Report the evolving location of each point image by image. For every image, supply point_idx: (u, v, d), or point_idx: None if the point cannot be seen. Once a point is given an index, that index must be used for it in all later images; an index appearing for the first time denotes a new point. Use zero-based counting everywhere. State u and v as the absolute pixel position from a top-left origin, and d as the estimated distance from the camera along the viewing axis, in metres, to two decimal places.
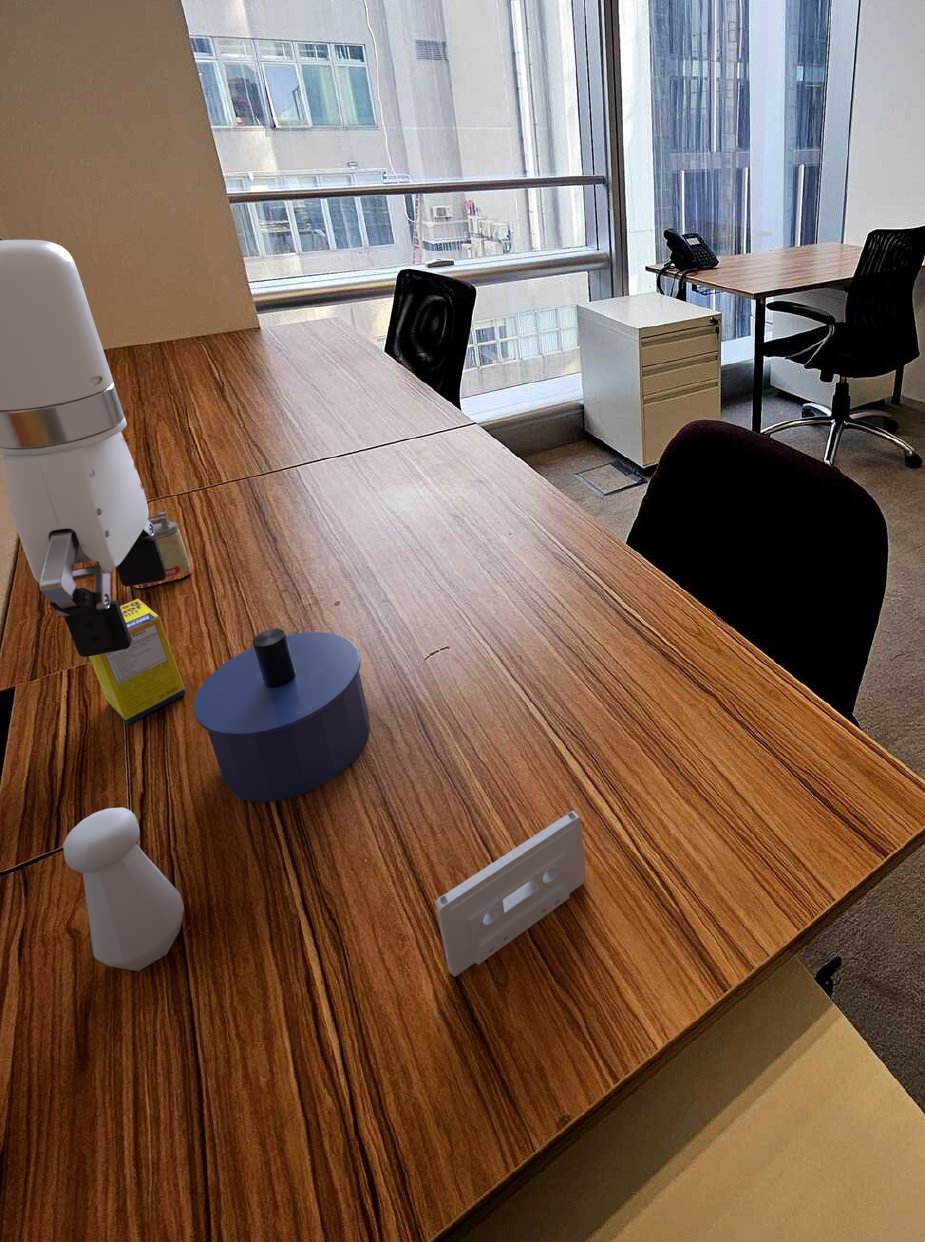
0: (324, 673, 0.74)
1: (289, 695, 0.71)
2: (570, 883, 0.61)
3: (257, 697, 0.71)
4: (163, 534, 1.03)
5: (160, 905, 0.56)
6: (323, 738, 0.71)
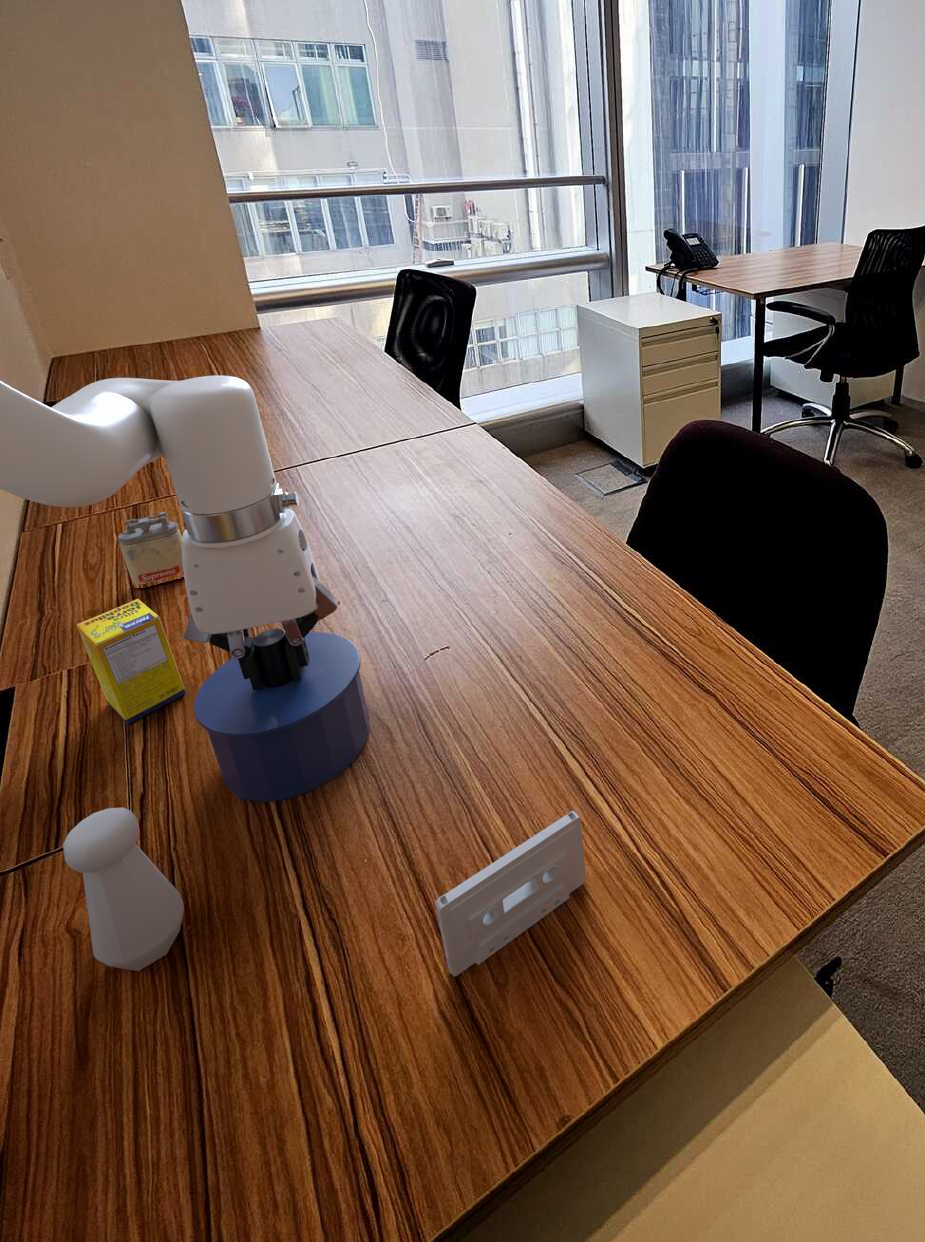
0: (324, 673, 0.74)
1: (289, 695, 0.71)
2: (570, 883, 0.61)
3: (257, 697, 0.71)
4: (163, 534, 1.03)
5: (160, 905, 0.56)
6: (323, 738, 0.71)
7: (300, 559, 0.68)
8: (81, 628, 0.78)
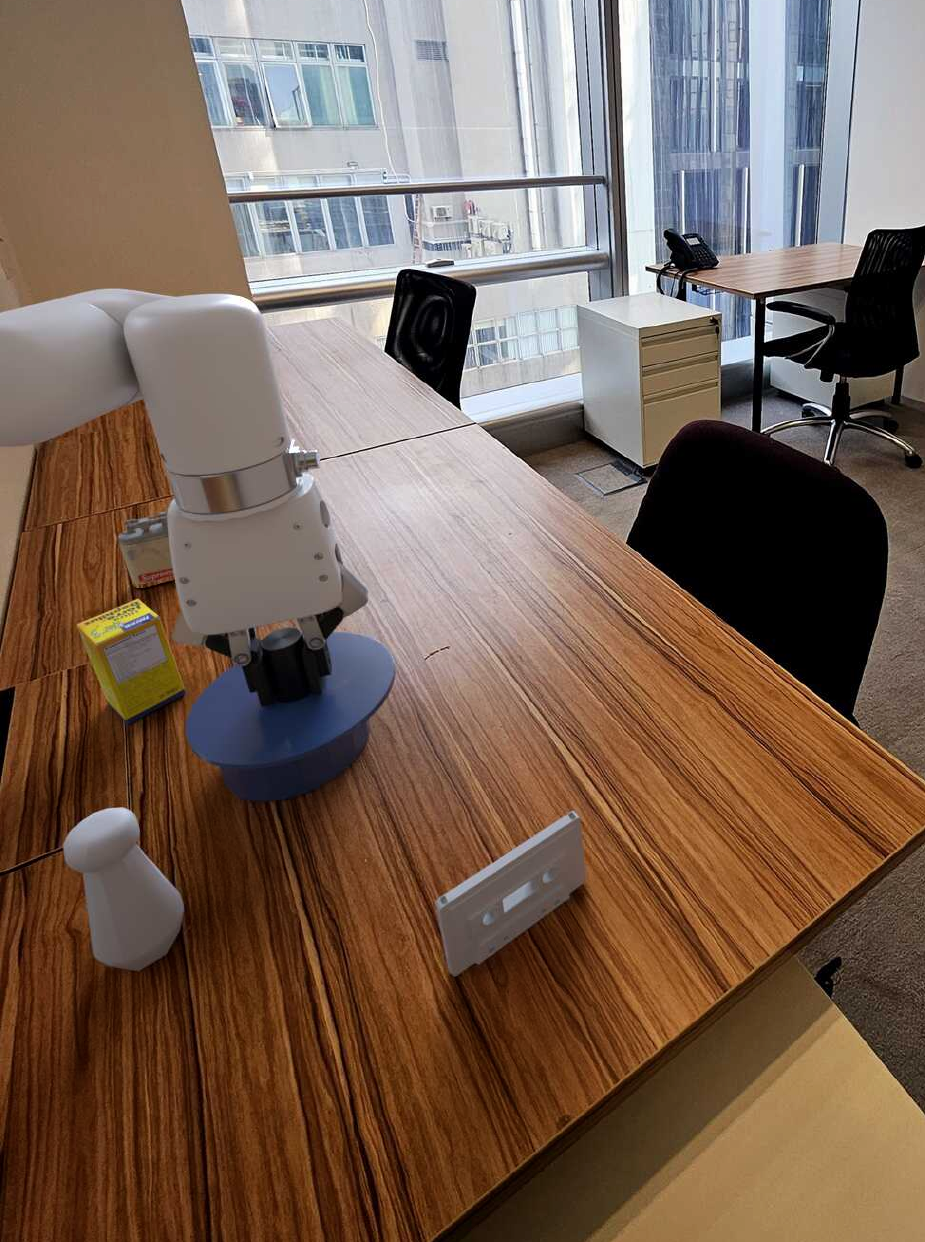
0: (351, 684, 0.58)
1: (307, 713, 0.56)
2: (570, 883, 0.61)
3: (266, 715, 0.55)
4: (163, 534, 1.03)
5: (160, 905, 0.56)
6: None
7: (322, 538, 0.53)
8: (81, 628, 0.78)
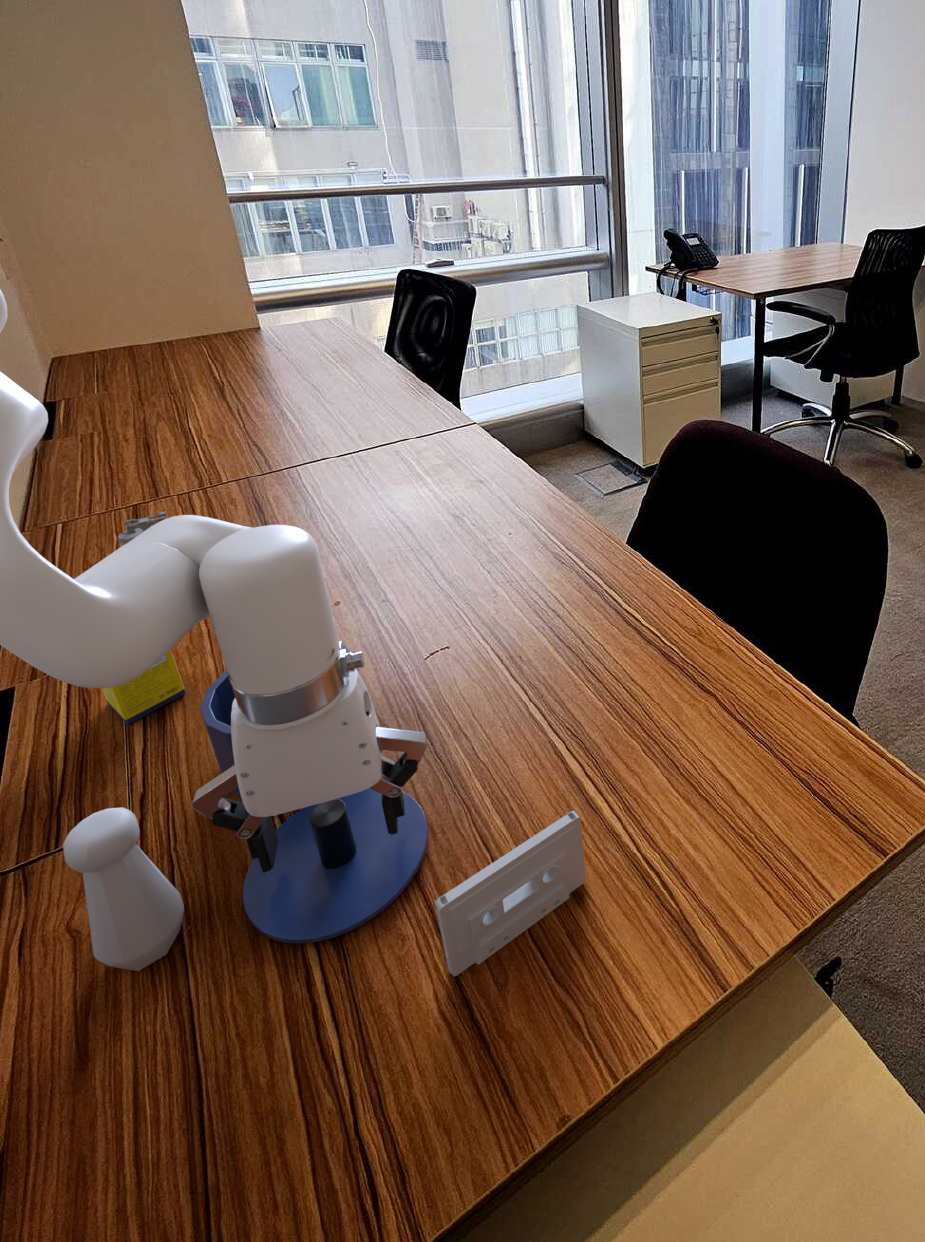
0: (389, 847, 0.65)
1: (351, 880, 0.62)
2: (570, 883, 0.61)
3: (315, 883, 0.62)
4: None
5: (160, 905, 0.56)
6: None
7: (366, 728, 0.59)
8: None
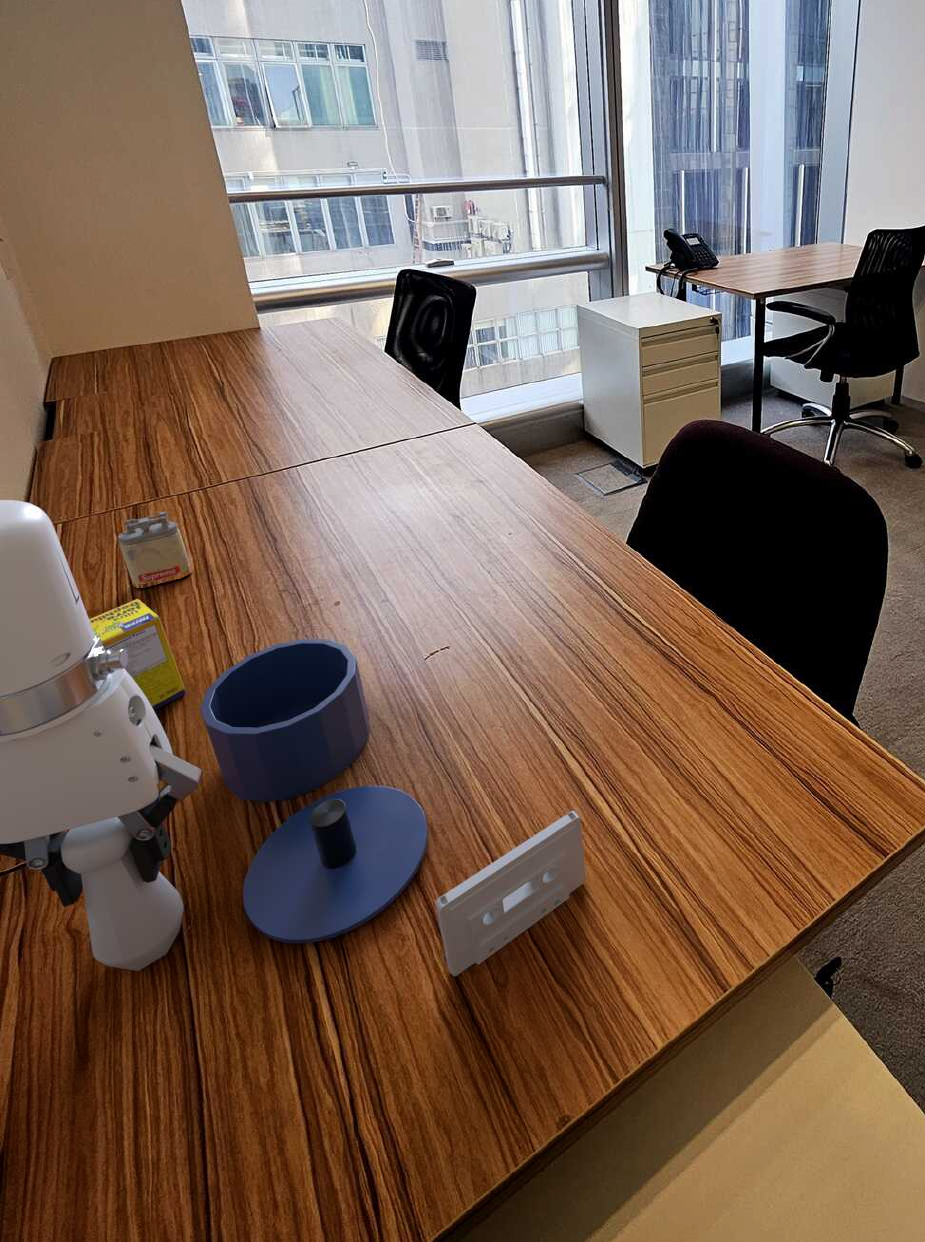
0: (389, 847, 0.65)
1: (351, 880, 0.62)
2: (570, 883, 0.61)
3: (315, 883, 0.62)
4: (163, 534, 1.03)
5: (159, 905, 0.56)
6: (323, 738, 0.71)
7: (129, 740, 0.50)
8: None
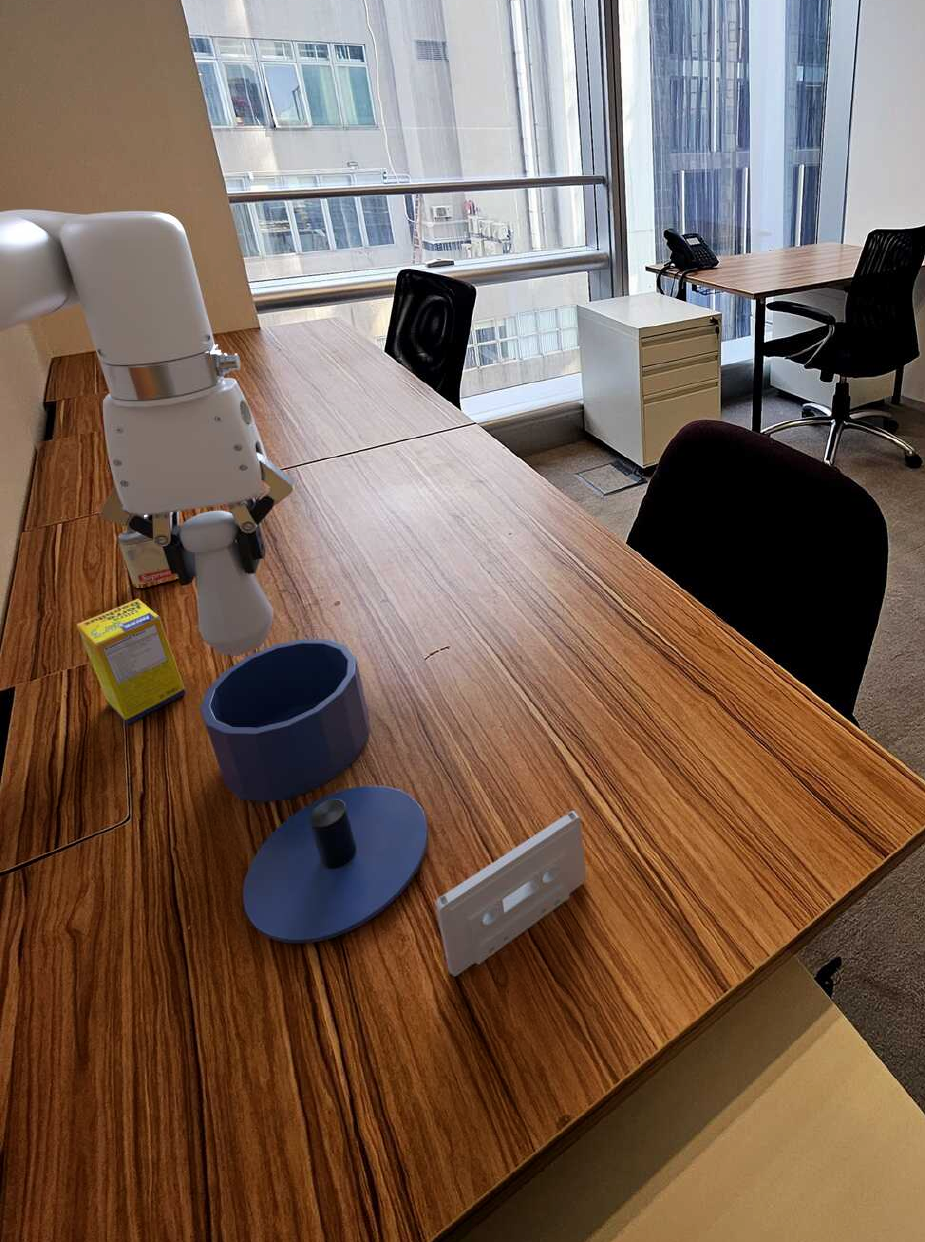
0: (389, 847, 0.65)
1: (351, 880, 0.62)
2: (570, 883, 0.61)
3: (315, 883, 0.62)
4: None
5: (256, 599, 0.66)
6: (323, 738, 0.71)
7: (241, 431, 0.60)
8: (81, 628, 0.78)
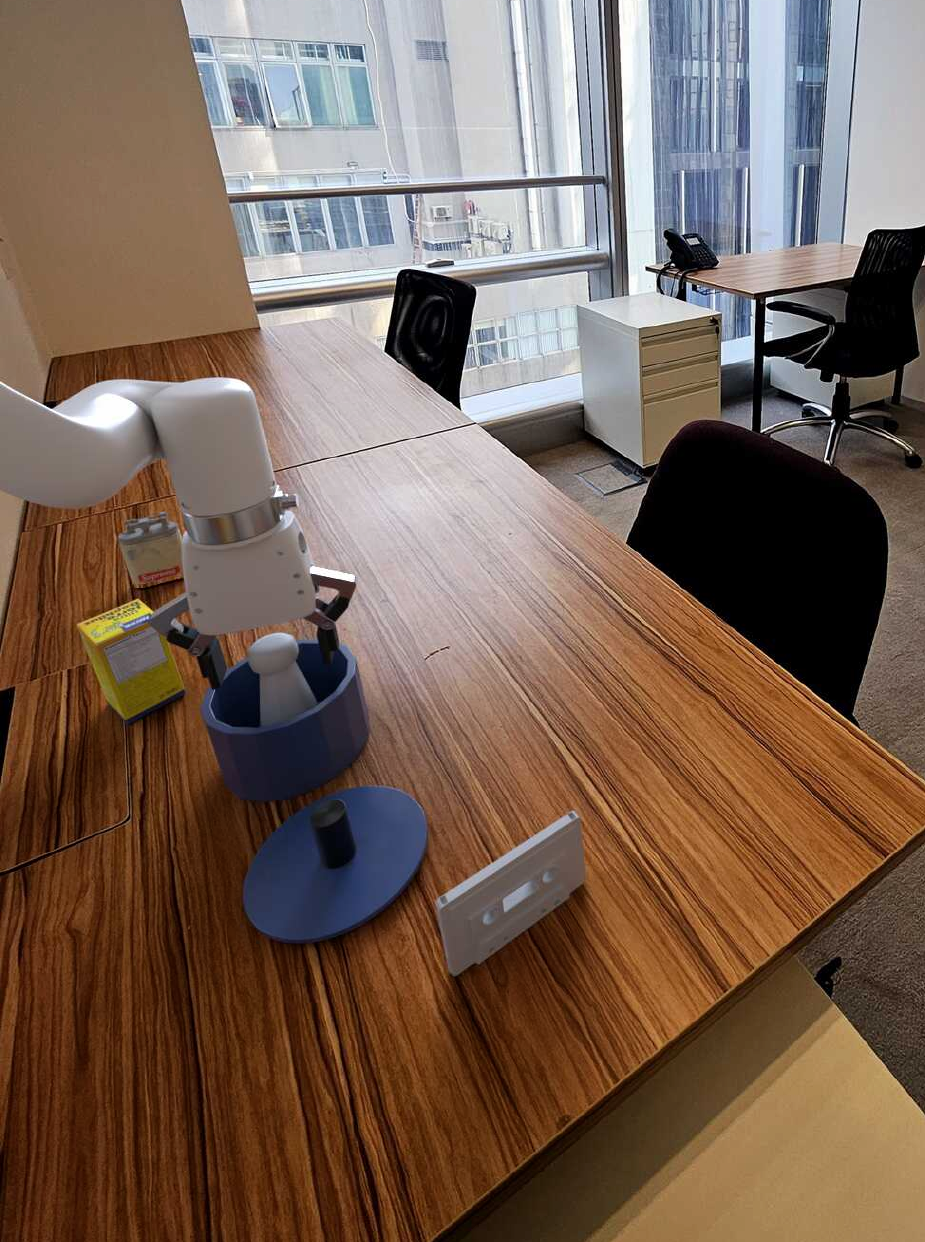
0: (389, 847, 0.65)
1: (351, 880, 0.62)
2: (570, 883, 0.61)
3: (315, 883, 0.62)
4: (163, 534, 1.03)
5: None
6: (323, 738, 0.71)
7: (300, 561, 0.68)
8: (81, 628, 0.78)
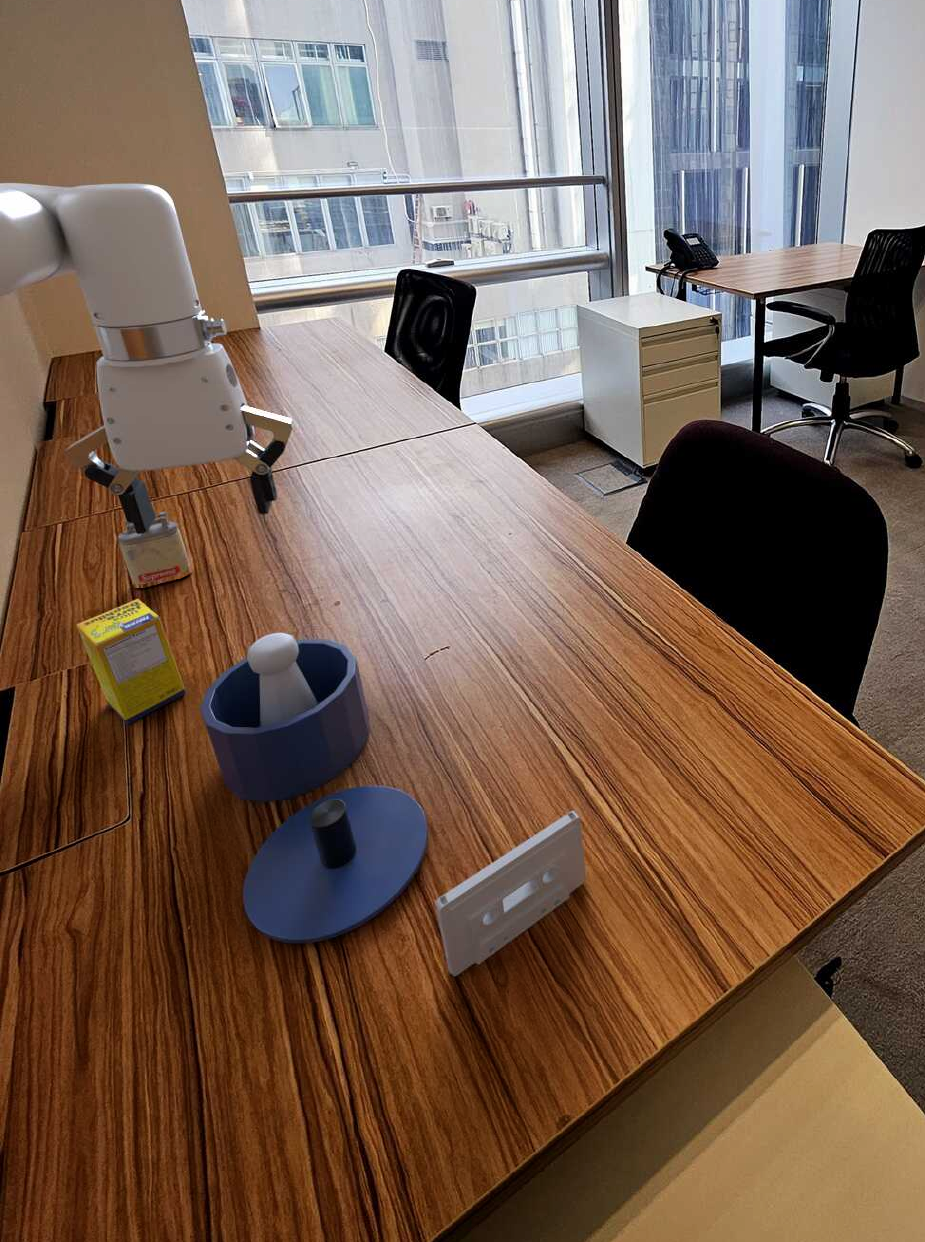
0: (389, 847, 0.65)
1: (351, 880, 0.62)
2: (570, 883, 0.61)
3: (315, 883, 0.62)
4: (163, 534, 1.03)
5: None
6: (323, 738, 0.71)
7: (228, 392, 0.64)
8: (81, 628, 0.78)
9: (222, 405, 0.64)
